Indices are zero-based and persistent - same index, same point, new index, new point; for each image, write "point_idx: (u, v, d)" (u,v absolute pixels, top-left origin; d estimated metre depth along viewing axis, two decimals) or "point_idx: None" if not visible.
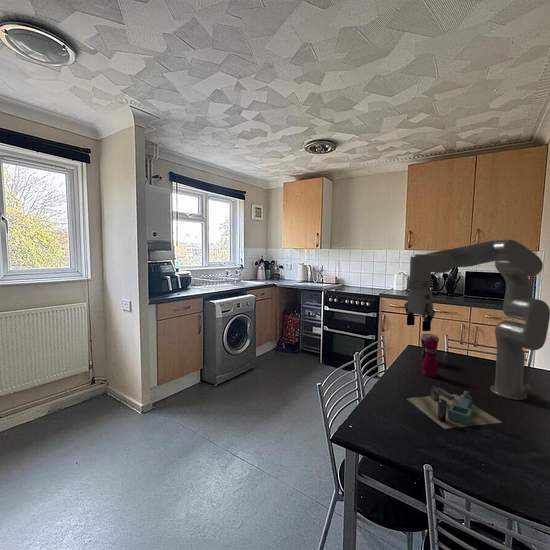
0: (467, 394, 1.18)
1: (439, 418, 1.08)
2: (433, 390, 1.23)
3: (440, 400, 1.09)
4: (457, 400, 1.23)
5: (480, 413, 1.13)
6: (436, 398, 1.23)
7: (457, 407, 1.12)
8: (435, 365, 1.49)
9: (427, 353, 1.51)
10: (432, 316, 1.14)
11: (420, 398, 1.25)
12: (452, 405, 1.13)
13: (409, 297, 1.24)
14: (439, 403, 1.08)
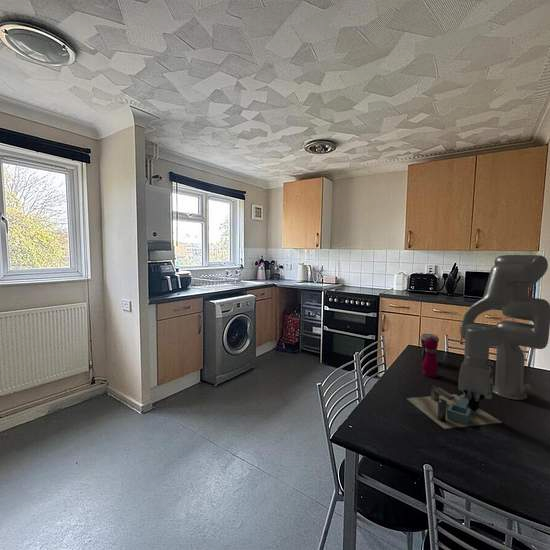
0: None
1: (439, 418, 1.08)
2: (433, 390, 1.23)
3: (440, 400, 1.09)
4: (457, 400, 1.23)
5: (480, 413, 1.13)
6: (436, 398, 1.23)
7: (456, 407, 1.12)
8: (435, 365, 1.49)
9: (427, 353, 1.51)
10: None
11: (420, 398, 1.25)
12: (451, 405, 1.13)
13: (464, 374, 1.13)
14: (439, 403, 1.08)
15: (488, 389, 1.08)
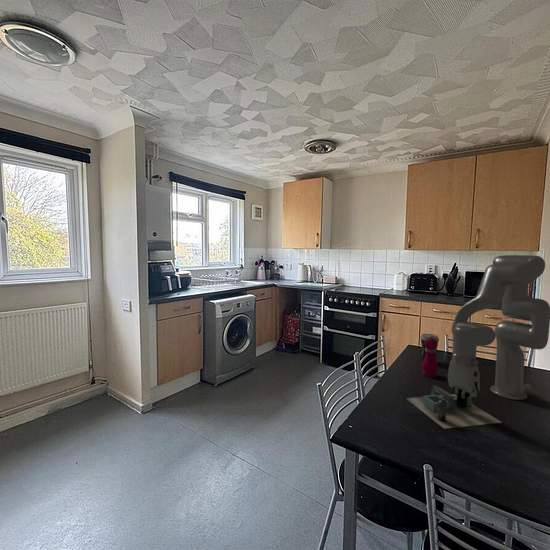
0: None
1: (439, 418, 1.08)
2: (433, 390, 1.23)
3: (440, 400, 1.09)
4: None
5: (480, 413, 1.13)
6: None
7: (439, 398, 1.19)
8: (435, 365, 1.49)
9: (427, 353, 1.51)
10: None
11: (420, 398, 1.25)
12: (435, 395, 1.20)
13: (451, 370, 1.16)
14: (439, 403, 1.08)
15: (471, 387, 1.10)
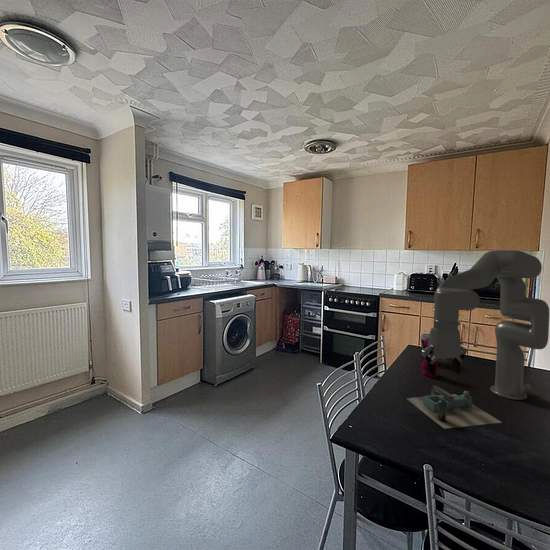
0: (465, 394, 1.19)
1: (439, 418, 1.08)
2: (433, 390, 1.23)
3: (440, 400, 1.09)
4: None
5: (480, 413, 1.13)
6: None
7: (439, 398, 1.19)
8: (435, 365, 1.49)
9: None
10: None
11: (420, 398, 1.25)
12: (435, 395, 1.20)
13: (442, 342, 1.04)
14: (439, 403, 1.08)
15: (460, 350, 1.06)
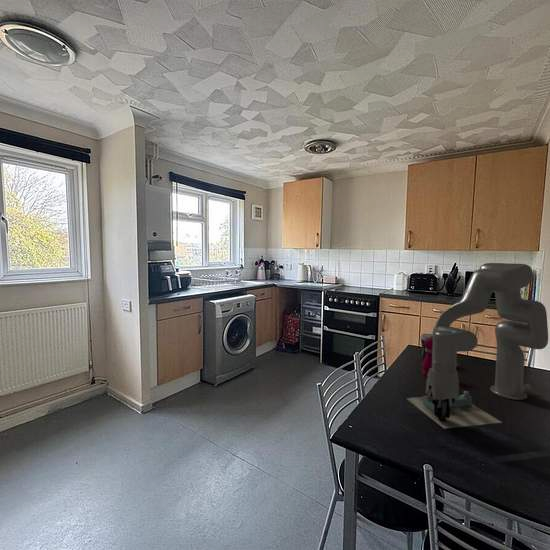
0: (465, 394, 1.19)
1: None
2: None
3: None
4: None
5: (480, 413, 1.13)
6: None
7: None
8: None
9: (427, 353, 1.51)
10: None
11: (420, 398, 1.25)
12: None
13: (440, 383, 1.05)
14: None
15: (458, 390, 1.07)
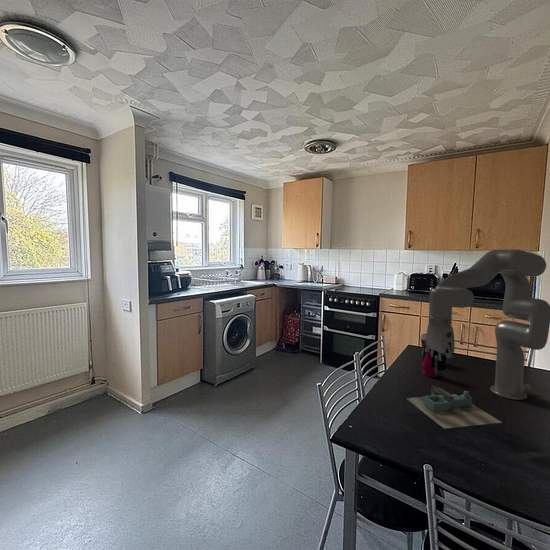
0: (465, 394, 1.19)
1: None
2: (433, 390, 1.23)
3: (438, 355, 1.16)
4: None
5: (480, 413, 1.13)
6: None
7: (439, 398, 1.19)
8: None
9: (427, 353, 1.51)
10: None
11: (420, 398, 1.25)
12: (435, 395, 1.20)
13: (428, 333, 1.17)
14: None
15: (443, 347, 1.10)
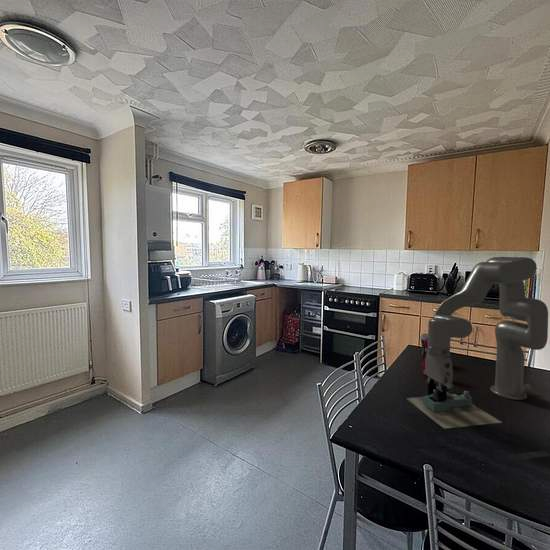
0: (465, 394, 1.19)
1: None
2: None
3: (437, 389, 1.17)
4: None
5: (480, 413, 1.13)
6: None
7: None
8: None
9: None
10: None
11: (420, 398, 1.25)
12: None
13: (427, 361, 1.19)
14: None
15: (441, 377, 1.11)
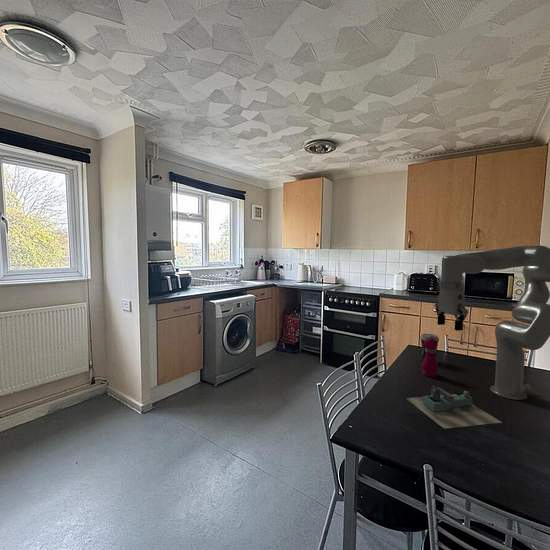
0: (465, 394, 1.19)
1: None
2: None
3: (436, 389, 1.18)
4: None
5: (480, 413, 1.13)
6: None
7: None
8: (435, 365, 1.49)
9: (427, 353, 1.51)
10: (465, 316, 1.17)
11: (420, 398, 1.25)
12: None
13: (440, 297, 1.27)
14: None
15: (454, 308, 1.20)
